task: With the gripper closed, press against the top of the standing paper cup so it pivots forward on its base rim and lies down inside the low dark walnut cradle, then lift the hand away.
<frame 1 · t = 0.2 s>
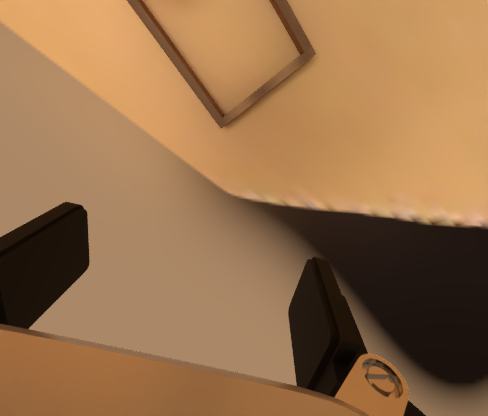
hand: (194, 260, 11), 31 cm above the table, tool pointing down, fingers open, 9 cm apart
u rest: (216, 18, 33), on the table
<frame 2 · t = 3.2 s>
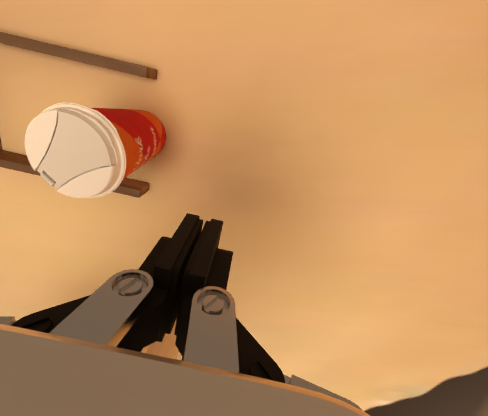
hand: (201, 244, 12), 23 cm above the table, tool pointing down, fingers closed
paper cup: (145, 133, 33), on the table
u rest: (73, 117, 32), on the table
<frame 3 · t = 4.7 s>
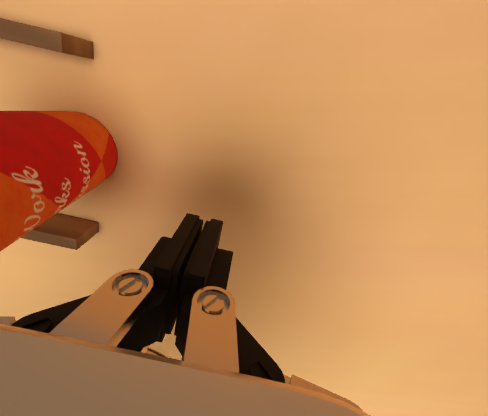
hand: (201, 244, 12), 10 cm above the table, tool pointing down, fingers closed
paper cup: (85, 147, 20), on the table
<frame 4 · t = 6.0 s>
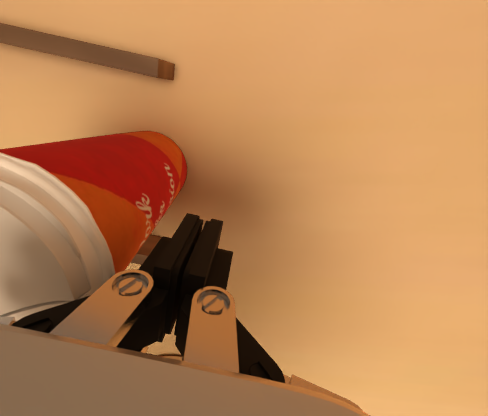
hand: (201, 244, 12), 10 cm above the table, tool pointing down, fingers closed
paper cup: (155, 165, 21), on the table, touching gripper
u rest: (42, 142, 20), on the table
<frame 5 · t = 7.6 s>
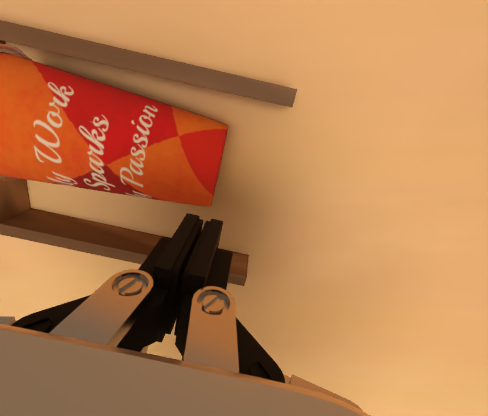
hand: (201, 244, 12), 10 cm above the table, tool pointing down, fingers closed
paper cup: (222, 166, 17), point 3 cm above the table
u rest: (143, 162, 20), on the table
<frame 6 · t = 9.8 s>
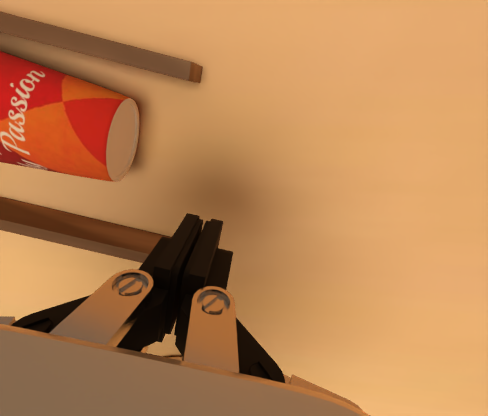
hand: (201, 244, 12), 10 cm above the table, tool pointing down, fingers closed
paper cup: (128, 141, 17), point 3 cm above the table
u rest: (62, 140, 20), on the table
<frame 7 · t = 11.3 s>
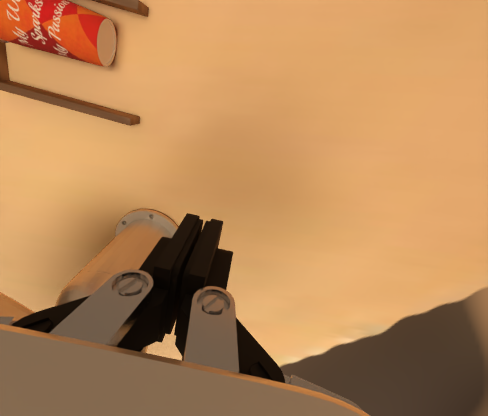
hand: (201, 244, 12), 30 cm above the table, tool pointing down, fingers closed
paper cup: (109, 43, 33), point 3 cm above the table
u rest: (74, 50, 36), on the table
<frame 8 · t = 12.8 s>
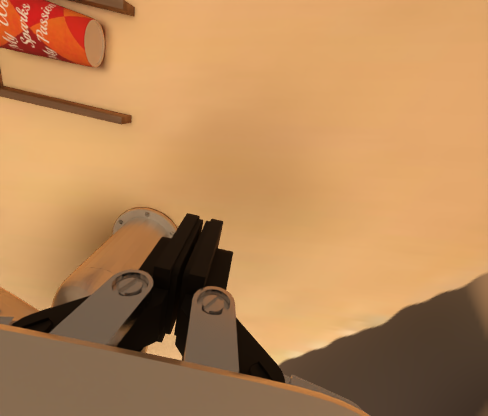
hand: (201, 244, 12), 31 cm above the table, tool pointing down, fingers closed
paper cup: (96, 44, 34), point 3 cm above the table
u rest: (64, 53, 37), on the table
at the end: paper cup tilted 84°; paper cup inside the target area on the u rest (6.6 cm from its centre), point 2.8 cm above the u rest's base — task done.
